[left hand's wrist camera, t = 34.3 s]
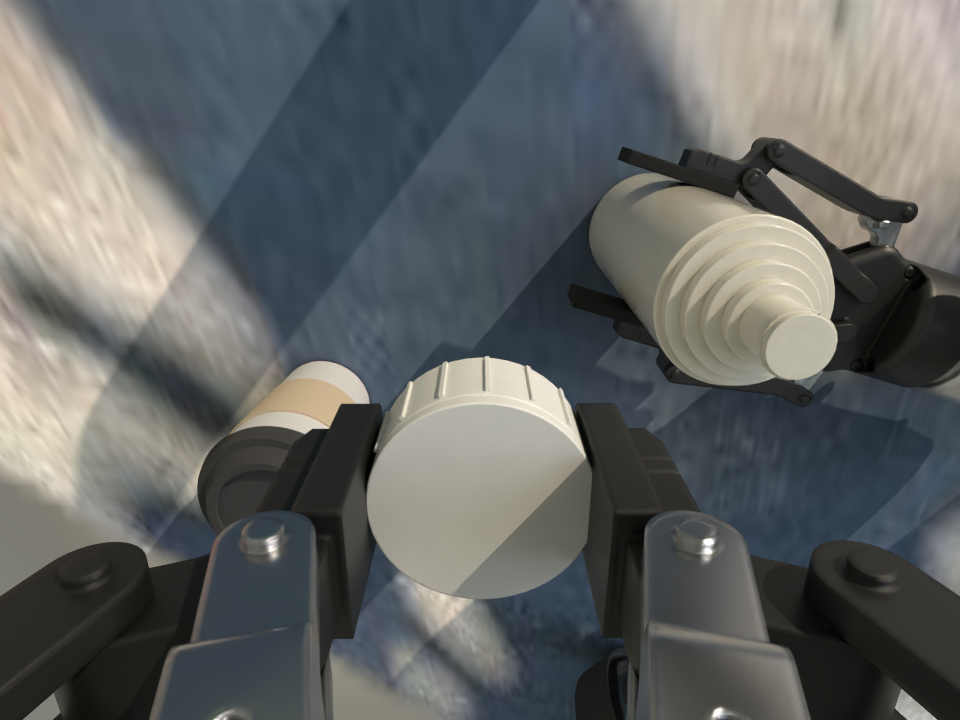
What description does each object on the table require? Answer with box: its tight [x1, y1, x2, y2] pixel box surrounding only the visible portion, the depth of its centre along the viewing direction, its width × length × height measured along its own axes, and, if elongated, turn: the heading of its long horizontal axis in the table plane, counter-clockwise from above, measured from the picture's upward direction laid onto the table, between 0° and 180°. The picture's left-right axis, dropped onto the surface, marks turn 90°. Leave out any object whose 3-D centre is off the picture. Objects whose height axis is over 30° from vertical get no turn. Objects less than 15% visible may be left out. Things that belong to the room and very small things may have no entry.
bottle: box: [589, 173, 838, 386], centre depth 34 cm, size 8×8×22 cm
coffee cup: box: [197, 361, 369, 535], centre depth 42 cm, size 9×9×15 cm
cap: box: [366, 356, 592, 599], centre depth 11 cm, size 4×4×2 cm
